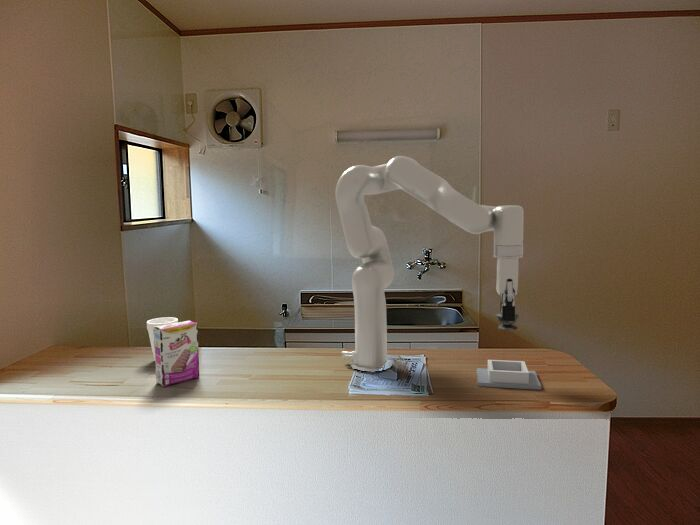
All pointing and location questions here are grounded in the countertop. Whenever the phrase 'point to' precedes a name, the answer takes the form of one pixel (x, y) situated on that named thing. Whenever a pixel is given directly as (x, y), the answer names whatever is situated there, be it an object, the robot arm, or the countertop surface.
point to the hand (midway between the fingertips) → (507, 317)
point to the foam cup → (158, 322)
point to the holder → (507, 375)
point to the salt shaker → (506, 324)
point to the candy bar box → (176, 352)
